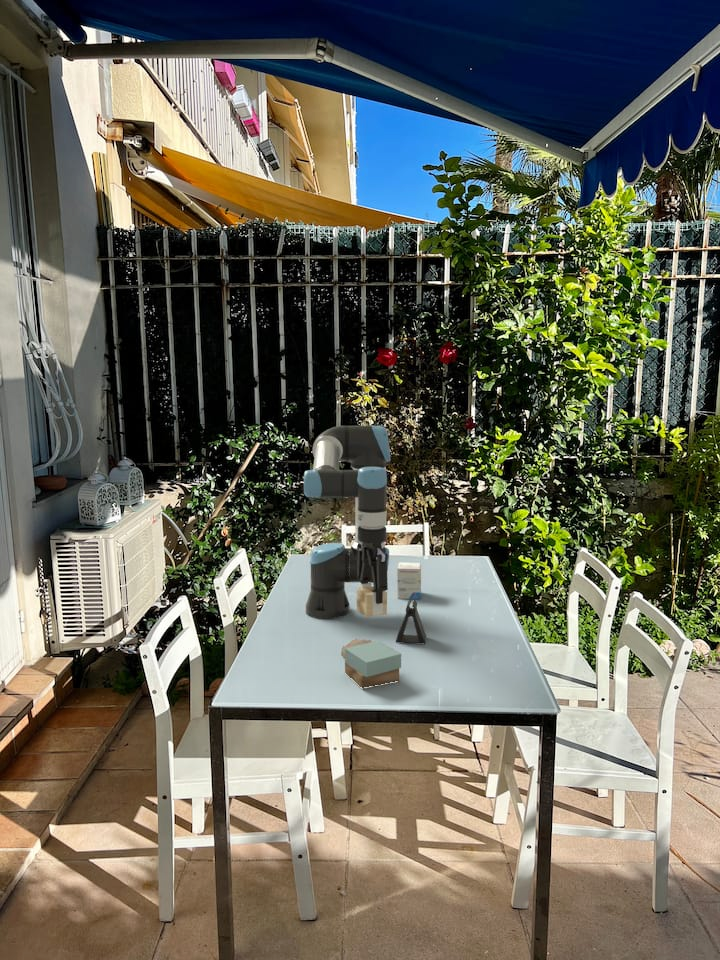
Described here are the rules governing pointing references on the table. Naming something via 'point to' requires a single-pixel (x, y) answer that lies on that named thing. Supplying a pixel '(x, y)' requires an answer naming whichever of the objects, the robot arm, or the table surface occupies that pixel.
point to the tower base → (371, 677)
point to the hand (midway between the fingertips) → (371, 610)
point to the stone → (354, 643)
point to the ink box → (409, 580)
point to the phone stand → (418, 625)
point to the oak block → (368, 601)
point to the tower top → (372, 658)
